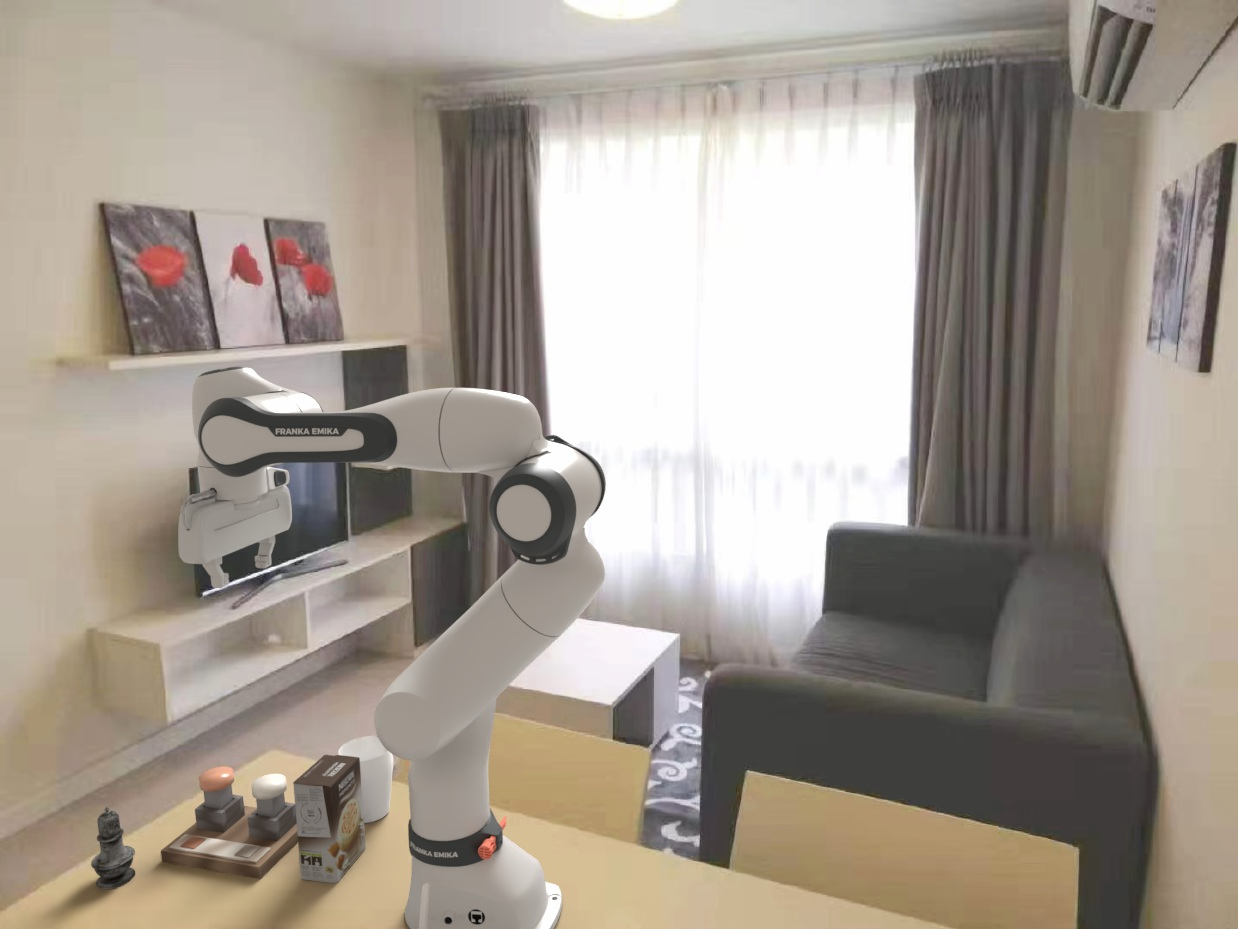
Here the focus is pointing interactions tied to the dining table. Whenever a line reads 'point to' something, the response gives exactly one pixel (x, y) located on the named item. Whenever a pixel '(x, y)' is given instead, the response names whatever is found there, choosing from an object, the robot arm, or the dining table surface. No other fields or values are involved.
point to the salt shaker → (112, 853)
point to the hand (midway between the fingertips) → (243, 576)
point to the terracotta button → (217, 787)
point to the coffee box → (329, 818)
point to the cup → (372, 774)
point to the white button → (269, 794)
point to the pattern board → (234, 840)
